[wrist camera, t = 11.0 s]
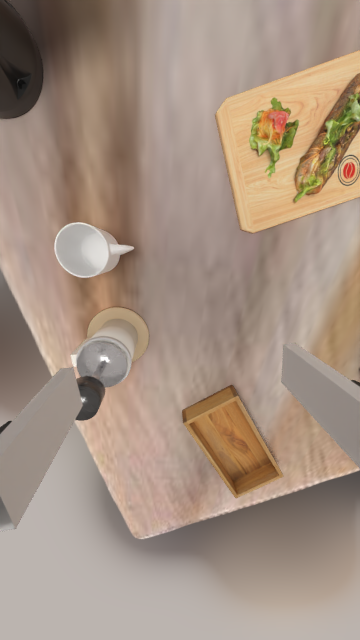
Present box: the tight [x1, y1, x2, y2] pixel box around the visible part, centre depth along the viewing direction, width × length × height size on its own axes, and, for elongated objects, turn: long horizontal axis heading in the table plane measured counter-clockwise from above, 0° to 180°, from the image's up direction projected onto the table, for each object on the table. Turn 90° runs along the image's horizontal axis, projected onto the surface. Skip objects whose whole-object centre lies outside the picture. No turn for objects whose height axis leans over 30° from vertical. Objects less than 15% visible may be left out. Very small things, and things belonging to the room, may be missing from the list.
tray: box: [182, 385, 284, 498], centre depth 60 cm, size 31×15×6 cm, turn 29°
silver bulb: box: [75, 342, 128, 420], centre depth 33 cm, size 8×8×11 cm
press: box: [71, 307, 149, 384], centre depth 45 cm, size 14×14×13 cm
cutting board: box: [215, 50, 360, 233], centre depth 40 cm, size 35×23×8 cm
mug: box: [54, 222, 134, 278], centre depth 41 cm, size 9×12×11 cm
